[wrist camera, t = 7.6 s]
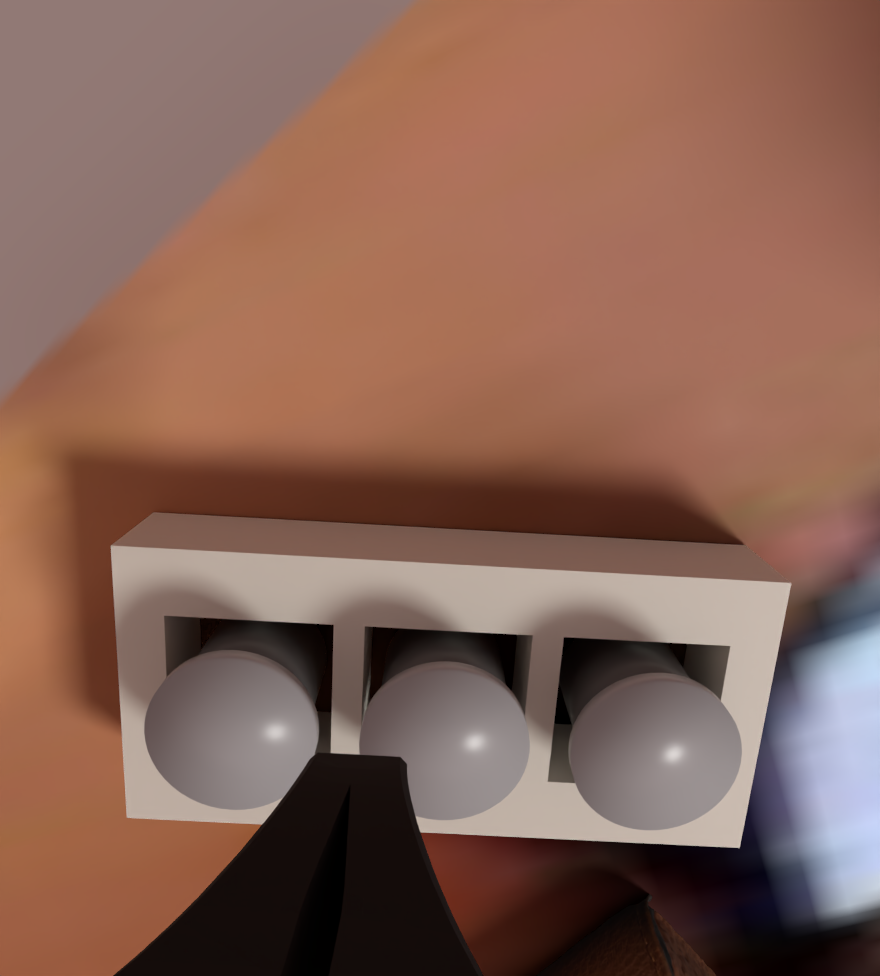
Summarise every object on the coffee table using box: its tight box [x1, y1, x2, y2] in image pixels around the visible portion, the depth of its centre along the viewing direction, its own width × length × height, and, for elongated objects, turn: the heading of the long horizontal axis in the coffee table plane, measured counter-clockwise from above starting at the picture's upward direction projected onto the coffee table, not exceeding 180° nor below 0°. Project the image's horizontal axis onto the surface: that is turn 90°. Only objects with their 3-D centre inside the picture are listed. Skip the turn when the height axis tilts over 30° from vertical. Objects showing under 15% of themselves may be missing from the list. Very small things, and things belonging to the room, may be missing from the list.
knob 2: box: [559, 638, 742, 830], centre depth 17 cm, size 4×4×4 cm
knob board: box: [111, 512, 791, 848], centre depth 18 cm, size 15×7×2 cm, turn 87°
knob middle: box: [359, 628, 530, 820], centre depth 17 cm, size 4×4×4 cm
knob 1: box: [144, 619, 327, 810], centre depth 17 cm, size 4×4×4 cm
